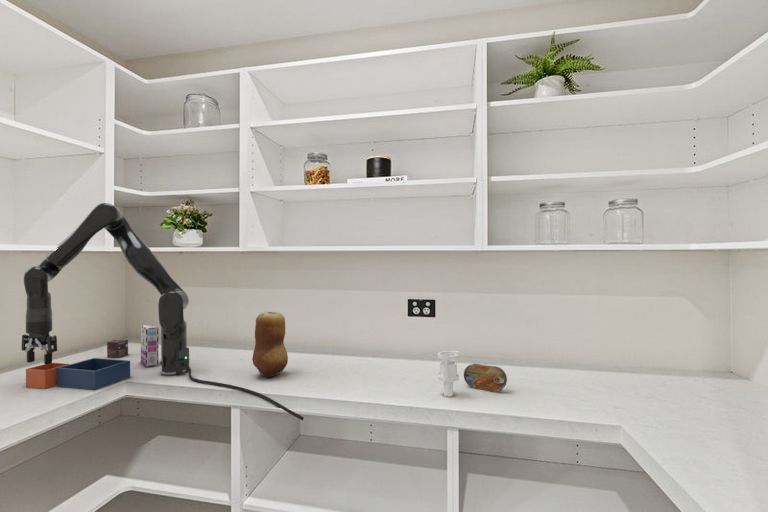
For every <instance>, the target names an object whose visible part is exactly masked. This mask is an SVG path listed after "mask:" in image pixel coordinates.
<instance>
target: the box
mask: <svg viewBox="0 0 768 512" xmlns="http://www.w3.org/2000/svg"><path fill="white" fill-rule="evenodd" d="M126 356H129V339H119V338H118V339H114V340H113V339H112V340H110V341H107V342H106V357H107V358H108V359H119V358H123V357H126Z"/></svg>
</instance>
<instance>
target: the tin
mask: <svg viewBox="0 0 768 512" xmlns="http://www.w3.org/2000/svg"><path fill="white" fill-rule="evenodd" d="M463 379H464V381H465V383H466V384H467V386H468V387H470V388H472V389H477V390H481V391H482V390H483V391H487V392H491V393H492V392H493V393H497V392H501V391H502V390H503V389H504V388H505V387H506V386H507V383H508V377H507V374H506V372H505V371H504V369H502V368H501V367H499V366H495V365H488V364H481V363H472V364H469V365H467V366H466V367H465V368H464V371H463Z"/></svg>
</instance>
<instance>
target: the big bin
mask: <svg viewBox="0 0 768 512" xmlns="http://www.w3.org/2000/svg"><path fill="white" fill-rule="evenodd" d="M69 364H70V365H66V366H63V367H59V368H57V385H56V387H61V388H72V389H79V390H80V389H82V390H91V391H97V390H99V389H101V388H105V387H108V386H111V385H113V384H116V383H120V382H122V381H125V380H127V379H131V360H129V359H127V360H126V359H116V358H103V357H102V358H101V357H92V358H89V359H85V360H82V361H78V362H75V363H69Z"/></svg>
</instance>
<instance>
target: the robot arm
mask: <svg viewBox="0 0 768 512" xmlns="http://www.w3.org/2000/svg"><path fill="white" fill-rule="evenodd" d="M102 230H105V231H106V232H108V233H109V234H110V235H111V237H112V238H113V239H114V240H115V241H116V243H117V244H118V246H119V249H120V250H121V253H122V255H123V257H124V259H125V260H126V262H127V263H128V264H129V266H131V268H132V269H133V271H134V272H135V273H136V274H137V275H138V276H140V278H142V279H143V280H145V281H146V282H148V283H149V284H151V285H152V286H153V287H154V288H155V289H156V290H157V292H158V293H159V294H160V296H159V298H158V302H157V303H158V304H157V305H158V306H157V308H158V312H157V313H158V323H159V326H160V355H161V357H160V358H161V359H160V362H159V365H160V366H161V369H160V370H161V371H160V374H161V375H162V376H180V375H182V374H184V373H188V378H189V379H190V380H191V381H193V382H196V383H201V384H208V385H214V386H220V387H225V388H230V389H235V390H239V391H242V392H246V393H248V394H252V395H254V396H257V397H260V398H262V399H264V400H266V401H268V402H269V403H272V404H273V405H275V406H277V407H278V408H280V409H281V410H283V411H285V412H286V413H288V414H290V415H292V416H293V417H295V418H297V419H298V420H300V421H304V419H305V418H304V416H302V415H300V414H298V413H296V412H295V411H293V410H291V409H290V408H288V407H286V406H285V405H282V404H281V403H280V402H278V401H276V400H274V399H272V398H270V397H268V396H266V395H264V394H263V393H260V392H258V391H255V390H251V389H249V388H245V387H241V386H237V385H232V384H227V383H223V382H217V381H210V380H204V379H198V378H195V377H193V375H192V370H191V367H190V348H189V347H188V325H187V322H186V320H185V318H184V317H185V316H184V310H185V309H187V308H188V306H189V303H190V298H189V295H188V294H187V292H185V290H184V289H183V288H182V287H181V286H180V285H179V284H178V283H177V282H176V281H175V280H174V279H173V278H172V276H171V275H170V274H169V272H168V271H167V270H166V268H165V267H164V266H163V264H162V263H161V261H160V260H159V259H158V258H157V256H156V255H155V253H154V252H153V251H152V249H151V248H150V247H149V246H148V245H147V244H146V242H144V240H143V239H142V238H140V236H139V235H137V233H136V232H135V231H134V230H133V228H132V227H131V225H130V223H129V222H128V220H127V219H126V217H125V215H124V213H123V211H122V210H121V209H120V208H118V207H117V206H115V205H114V204H112V203H108V202H102V203H99V204H97V205H95V206H94V207H93V208H92V209H91V211H90V212H89V213H88V214H87V215H86V217H85V218H84V219H83V220H82V221H81V223H80V224H79V225H77V227H76V228H75V229H74V230H73V231H72V232H71V233H70V234H68V236H67V237H66V238H65V239H64V240H62V241H61V242H60V243H59V244H57V246H58V247H57V248H58V249H57V250H56V251H52V250H50V251H49V253H47V254H46V257H45V259H43V260H42V261H41V262H40V263H39V264H37V265H36V266H30V267H28V268H27V269H26V270H25V272H24V274H23V285H24V291H25V294H26V311H25V334H22V335H21V351H24V352H25V353H26V363H27V364H28V363H33V362H35V360H36V359H35V358H36V357H35V355H36V353H35V351H36V348H39V349H40V350H41V351H42V352H43V353H44V354H43V361H44V362H43V363H44V364H50V363H53V353H55V352H58V339H57V338H58V337H57V335H55V334H54V335H50V332H53V310H52V294H51V292H50V291H49V283H50V282H51V281H52V280H53V279H55V277H56V276H58V274H59V273H60V272H61V271H62V270H63V269H64V268H65V267H66V266H67V265H69V264H70V263H71V262H73V260H74V259H76V258H77V257H78V256H79V255H80V254H81V253H82V252H83V250H84V249H85V247H86V246H87V244H88V243H89V242H90V241H91V239H92V238H93V237H94V236H95V235H96V234H97V233H99V232H100V231H102ZM44 364H43V365H44Z"/></svg>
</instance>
